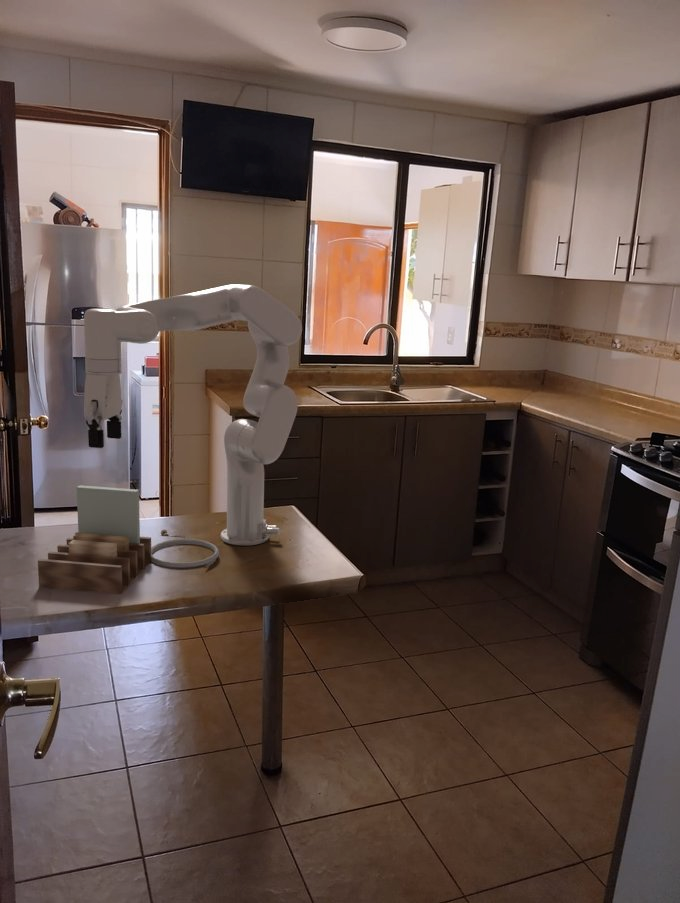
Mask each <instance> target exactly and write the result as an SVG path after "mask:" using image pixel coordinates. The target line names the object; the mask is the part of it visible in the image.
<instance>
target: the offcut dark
mask: <svg viewBox="0 0 680 903" xmlns="http://www.w3.org/2000/svg"><path fill="white" fill-rule="evenodd" d="M72 538H73V540H81V541H93V542H106V543H117V549H121V550H129V537H122V536H110V535H97V534H85V533H77V534H75V533H74V535H73V536H72Z"/></svg>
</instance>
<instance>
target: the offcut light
mask: <svg viewBox="0 0 680 903" xmlns="http://www.w3.org/2000/svg"><path fill="white" fill-rule="evenodd" d="M68 544H69V553H75V554H87V555H99V556H111V557H117V543H106V542H93V541H81V540H72V541H71V542H70V543H68Z"/></svg>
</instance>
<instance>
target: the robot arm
mask: <svg viewBox="0 0 680 903" xmlns="http://www.w3.org/2000/svg"><path fill="white" fill-rule="evenodd" d="M233 321H243V322H247V327H248V331H249V335H250V336H251V338H252V340H253V343H254V344H255V347H256V361H255V364H254V368H253V370H252V373H251V376H250V378H249V381H248V384H247V386H246V389H245V392H244V395H243V400H242V403H243V408H244V410H246V412H247V413H249V414H250V415H252V416H255V417H257V418H259V419H258V421H255V420H252V419H249V418H248V419H245V418H238V419H236V420H234V421H232V422H231V423H229V425H228V426H227V428H226V429H225V432H224V436H223V438H224V439H223V443H224V450H225V456H226V457H225V458H226V465H227V466H226V468H227V469H226V470H227V472H226V473H227V474H226V475H227V476H226V528H225V529H223V530H222V531H221V532H220V539H221V540H222V541H223V542H225V543H227V544H229V545H233V546H254V545H255V546H256V545H259V544H262V543H265V542H267V541H268V539H269V538H270V537H269V536H270V535H272V536H279V535H280V528H279V527H277V525H268V523H267V518H266V519H264V509H265V508H264V507H265V502H264V500H265V468H264V465H269V464H272V463H274V462H275V461H277V460H278V459H279V457H280V456H281V454H282V453H283V451H284V450H285V447H286V443H287V441H288V438H289V436H290V433H291V431H292V428H293V424H294V421H295V419H296V417H297V413H298V397H297V394H296V393H295V391H294V390H293V389H292V388H291V387H290V386H288V385H285V382H286V378H287V375H288V373H289V368H290V359H291V358H290V353H289V348H288V346H292V345H294V344H295V343H297V342H298V341H299V340H300V338H301V336H302V332H303V326H302V322H301V319H300V318H299V316H298V315H297V314H296V313H295V312H294V311H293V310H292V309H290V308H289V307H287V306H286V305H285V304H283V303H282V302H280V301H279V300H278V299H277V298H275V297H274V296H272V295H271V294H270V293H268V292H267V291H266V290H264V289H263V288H260V287H259V286H256V285H253V284H241V283H240V284H239V283H238V284H237V283H236V284H227V285H222V286H221V285H220V286H217V287H213V288H209V289H204V290H200V291H194V292H190V293H185V294H179V295H178V294H177V295H174V296H169V297H163V298H158V299H152V300H151V299H150V300H146V301H141V302H136V303H132V304H127V305H123V306H120V307H117V308H116V309H111V308H90V309H87V310H86V311H85V312H84V314H83V328H84V332H83V335H84V360H85V361H84V362H85V363H84V364H85V382H84V392H83V393H84V394H83V395H84V397H83V401H84V402H83V414H84V415H83V416H84V418H85V420H86V421H85V423H86V429H87V430H88V431H87V434H88V436H87V438H88V447H89V448H94V449H95V448H97V449H103V448H104V446H105V444H104V443H105V439H104V429H103V426H104V421H105V420H106V438H107V439H117V440H119V439H121V438H122V419H123V418H122V413H123V409H122V406H123V398H122V386H121V376H120V375H121V374H122V373H123V372H122V342H123V343H133V344H140V345H142V344H148V343H150V342H153V341H154V340H155V339H157V337H158V335H159V332H164V331H165V332H167V331H168V332H169V331H181V332H183V331H185V332H189V331H190V332H191V331H198V330H202V329H207V328H210V327H214V326H218V325H222V324H226V323H230V322H233Z"/></svg>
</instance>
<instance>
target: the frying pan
mask: <svg viewBox="0 0 680 903" xmlns="http://www.w3.org/2000/svg"><path fill="white" fill-rule="evenodd" d="M161 534H162V536H163V537H172V538H177V539H171V540H165V541H162V542H160V543H156V544H155V545H154V546H151V561H152V562H151V563H153V564H154V565H158V566H161V567H166V568H170V569H188V568H196V567H197V568H198V567H202V566H204V568H205V567H206V568H208V567H210V565H211V564H212V565H213V564H214V562H216V561H217V558H218V557H219V555H220V551H219V549H218V547H217V546H216V545H215V544H213V543H211V542H209V541H207V540H203V539H196V538H186V535H178V534H175V535H169V534H168V530H167V529H165V528H164V529H162V530H161V531H160V535H161ZM175 545H176V546H177V545H196V546H200V547H201V546H203V547H205V548H208V549H210V550H211V551H213V553H214V554H212V555H211V556H209V557H207V558H204V559H202V560H197V561H190V562H172V561H166V560H161V559H159V558H156V557H155V556H153V554H154V553H155V552H156V551H158V550H160V549H162V548H166V547H171V546H175ZM212 565H211V566H212ZM207 566H208V567H207Z"/></svg>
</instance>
